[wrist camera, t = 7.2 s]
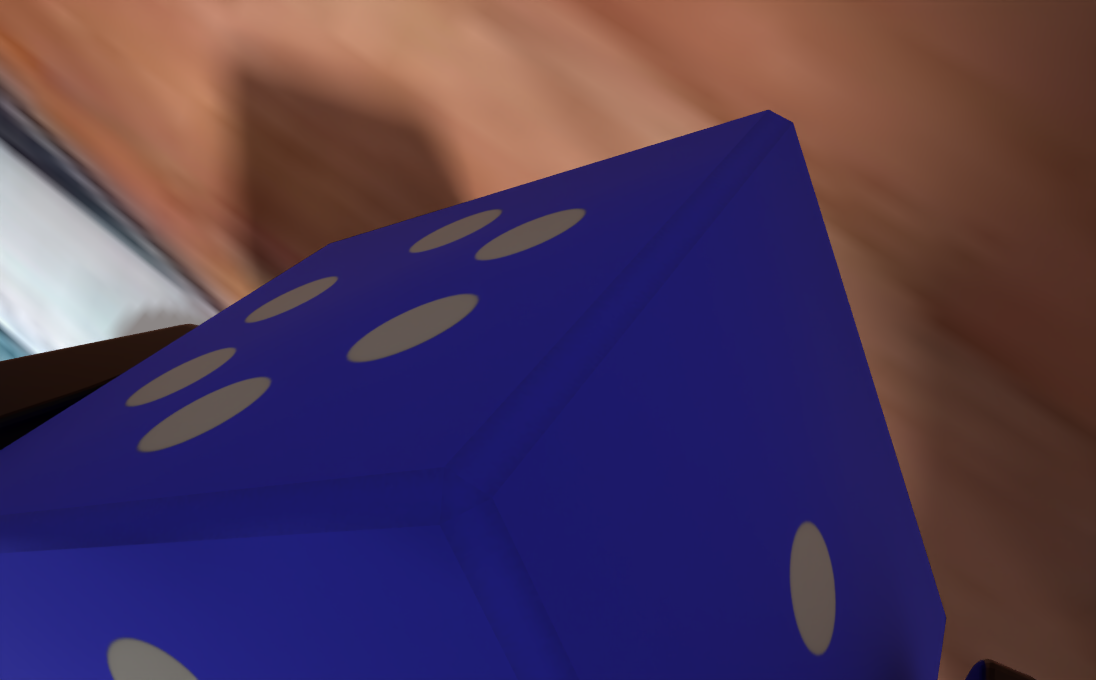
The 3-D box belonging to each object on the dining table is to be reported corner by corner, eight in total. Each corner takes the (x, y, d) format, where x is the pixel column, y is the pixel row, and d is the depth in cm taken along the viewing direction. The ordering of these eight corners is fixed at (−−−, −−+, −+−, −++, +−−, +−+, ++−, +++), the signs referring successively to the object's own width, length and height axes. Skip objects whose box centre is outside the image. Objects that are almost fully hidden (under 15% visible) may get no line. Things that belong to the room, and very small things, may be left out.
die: (950, 618, 9) (858, 1307, 5) (513, 616, 11) (225, 1051, 7) (792, 98, 7) (456, 488, 3) (327, 241, 10) (-159, 544, 6)
